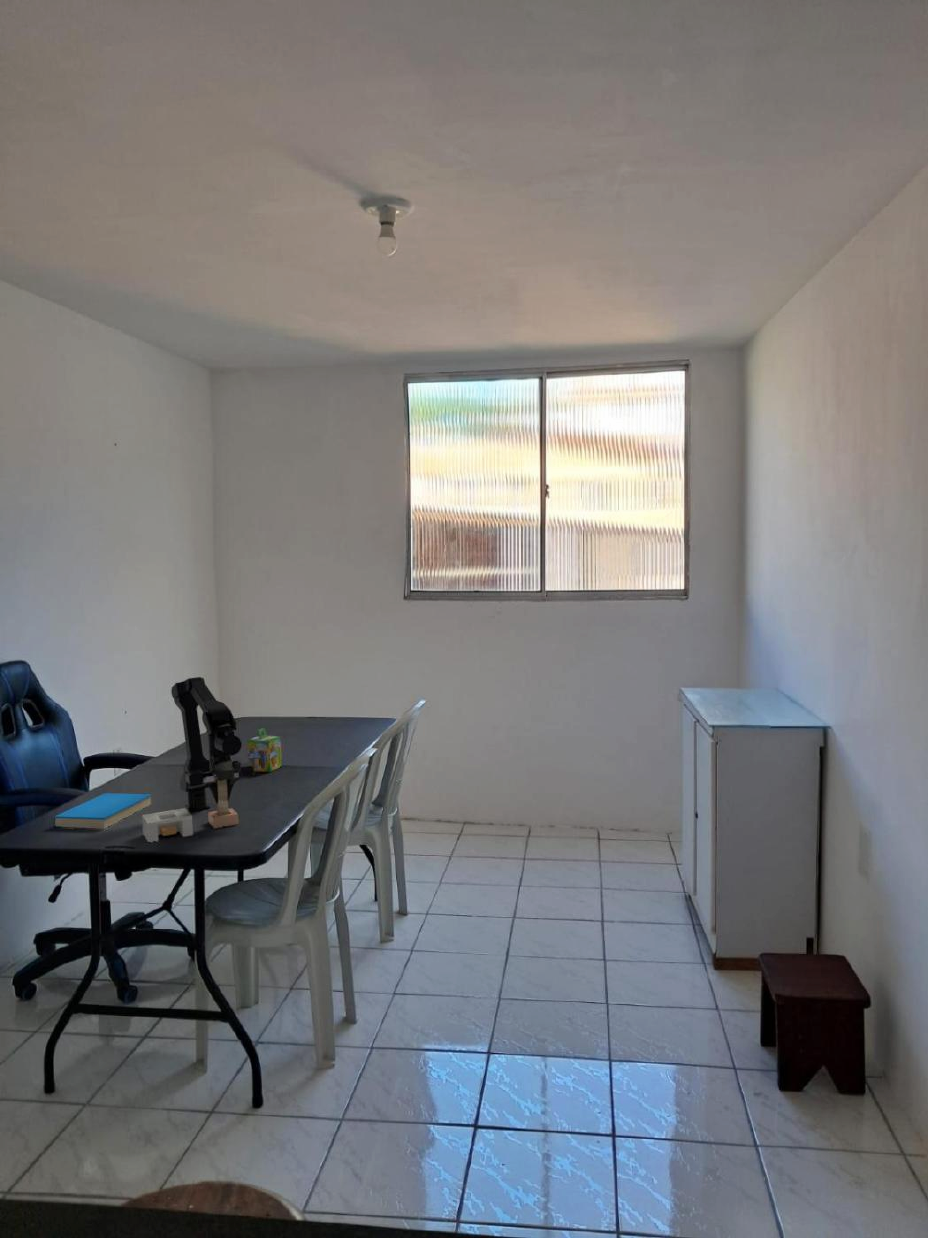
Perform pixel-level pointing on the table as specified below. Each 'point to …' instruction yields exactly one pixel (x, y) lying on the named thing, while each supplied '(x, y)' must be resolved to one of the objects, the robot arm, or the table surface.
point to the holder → (223, 819)
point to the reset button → (168, 830)
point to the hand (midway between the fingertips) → (222, 802)
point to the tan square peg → (222, 797)
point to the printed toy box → (264, 752)
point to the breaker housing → (167, 823)
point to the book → (103, 810)
